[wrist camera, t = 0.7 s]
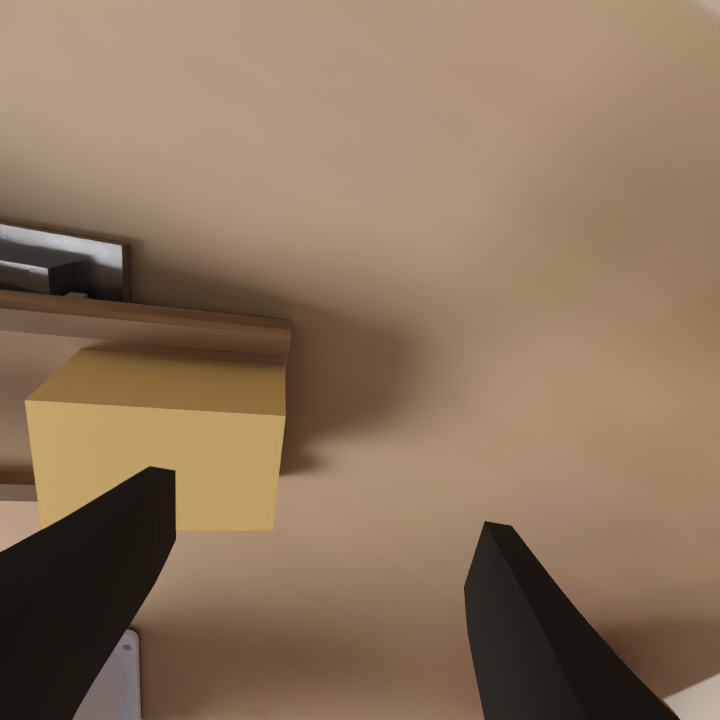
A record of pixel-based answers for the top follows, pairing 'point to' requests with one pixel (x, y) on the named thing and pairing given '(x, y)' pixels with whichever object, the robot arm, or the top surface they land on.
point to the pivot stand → (63, 263)
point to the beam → (106, 333)
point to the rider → (161, 435)
